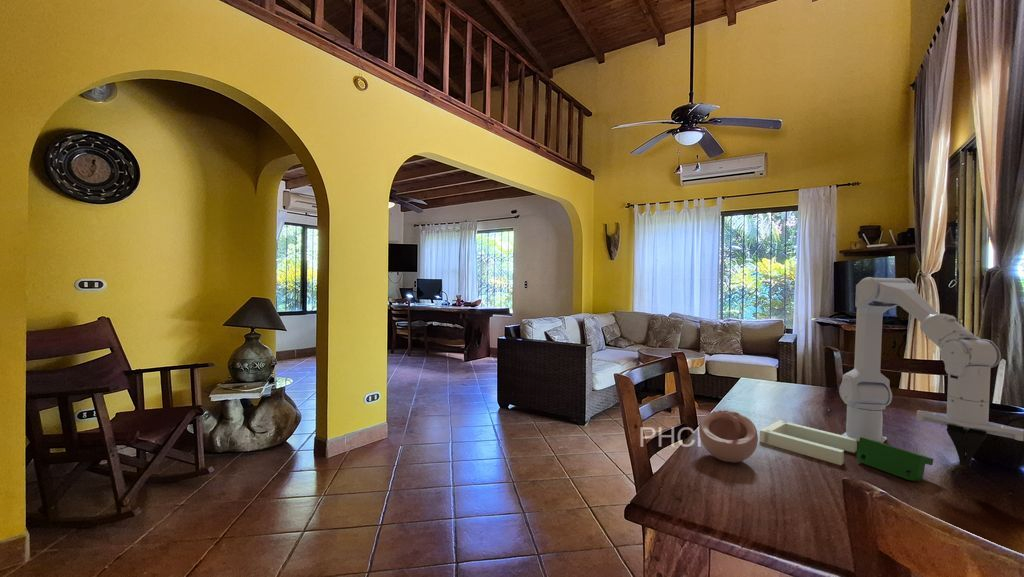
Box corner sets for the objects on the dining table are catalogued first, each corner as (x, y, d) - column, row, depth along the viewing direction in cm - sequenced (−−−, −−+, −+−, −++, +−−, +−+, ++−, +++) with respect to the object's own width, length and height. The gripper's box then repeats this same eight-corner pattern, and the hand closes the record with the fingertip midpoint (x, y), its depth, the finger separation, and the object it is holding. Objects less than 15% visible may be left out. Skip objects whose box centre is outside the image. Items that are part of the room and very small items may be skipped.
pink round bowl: (693, 461, 94) (695, 411, 94) (703, 445, 104) (704, 400, 103) (754, 477, 87) (756, 423, 87) (758, 458, 97) (760, 409, 97)
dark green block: (916, 497, 89) (946, 466, 87) (901, 494, 87) (930, 462, 84) (862, 455, 100) (887, 426, 97) (847, 451, 98) (871, 422, 95)
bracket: (779, 430, 116) (779, 420, 116) (856, 450, 103) (857, 439, 103) (759, 441, 107) (759, 430, 107) (841, 465, 94) (841, 452, 94)
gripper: (915, 393, 87) (912, 457, 87) (1024, 410, 76) (1021, 484, 76) (920, 388, 91) (917, 449, 91) (1024, 404, 80) (1021, 474, 80)
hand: (965, 464), depth 84 cm, fingers closed
